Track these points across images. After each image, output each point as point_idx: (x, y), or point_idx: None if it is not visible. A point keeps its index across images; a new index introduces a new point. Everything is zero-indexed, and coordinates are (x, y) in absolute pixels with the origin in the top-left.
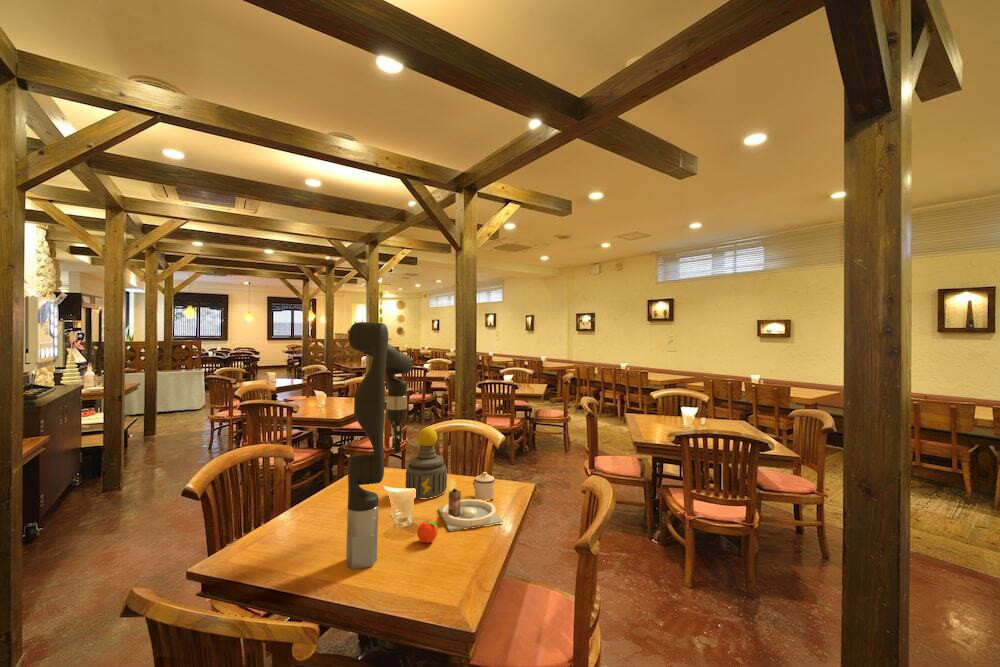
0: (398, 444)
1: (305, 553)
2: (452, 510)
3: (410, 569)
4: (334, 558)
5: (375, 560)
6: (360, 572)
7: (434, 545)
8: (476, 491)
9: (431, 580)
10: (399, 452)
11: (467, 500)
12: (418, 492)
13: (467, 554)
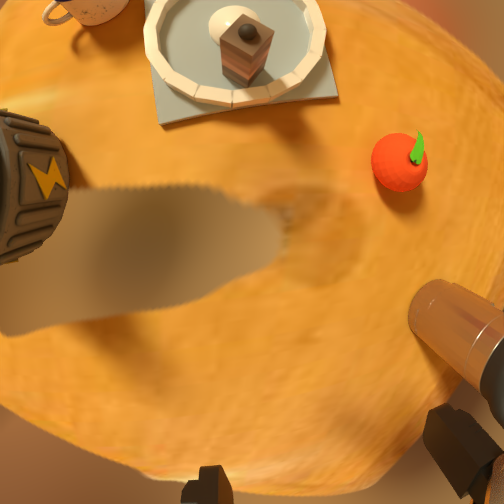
0: (495, 452)
1: (369, 413)
2: (258, 68)
3: (474, 207)
4: (405, 361)
5: (446, 281)
6: None
7: None
8: (101, 6)
9: (499, 171)
10: (443, 404)
11: (155, 27)
12: (57, 206)
13: (439, 84)
